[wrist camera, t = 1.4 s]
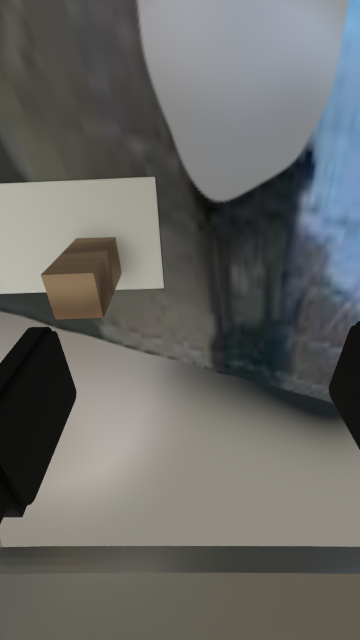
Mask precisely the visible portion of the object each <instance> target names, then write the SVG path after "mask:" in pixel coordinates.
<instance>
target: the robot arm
mask: <svg viewBox="0 0 360 640" xmlns="http://www.w3.org/2000/svg"><path fill="white" fill-rule="evenodd" d="M329 394H330V397H331V399H332V401H333V402H334V404H335V406H336V408H337V410H338V411H339V413H340V415H341V417H342V419H343V420H344V422H345V424H346V426H347V427H348V429H349V431H350V433H351V435H352V437H353V438H354V440H355V442H356V443H357V445H358V447H359V449H360V321H358V322H357V323H356V325H354V326H352V327H351V328H350V330H349V333H348V335H347V338H346V341H345V344H344V346H343V349H342V352H341V355H340V358H339V360H338V363H337V366H336V369H335V371H334V374H333V377H332V380H331V382H330V385H329ZM75 399H76V388H75V385H74V382H73V379H72V376H71V373H70V370H69V367H68V364H67V361H66V358H65V355H64V352H63V350H62V346H61V343H60V340H59V337H58V334H57V333H56V332H55V331H52V330H51V328H49V327H30V328H28V329H27V330H26V332H25V333H24V334H23V335H22V337H21V338H20V339H19V340H18V342H17V343H16V344H15V345H14V347H13V348H12V349H11V351H10V352H9V353H8V354H7V356H6V357H5V358H4V359H3V360H2V362H1V363H0V523H1V521H2V519H3V517H22V516H23V514H24V512H25V509H26V507H27V505H30V504H31V503H32V502H33V501H34V499H35V497H36V495H37V492H38V490H39V488H40V485H41V483H42V480H43V478H44V475H45V473H46V471H47V468H48V466H49V463H50V461H51V458H52V456H53V454H54V451H55V448H56V446H57V444H58V441H59V439H60V436H61V434H62V431H63V429H64V426H65V424H66V422H67V419H68V417H69V414H70V412H71V409H72V407H73V404H74V402H75ZM0 640H360V547H315V546H296V547H295V546H62V547H61V546H60V547H59V546H48V547H47V546H45V547H44V546H43V547H42V546H41V547H2V545H1V541H0Z"/></svg>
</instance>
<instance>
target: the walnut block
mask: <svg viewBox="0 0 360 640" xmlns="http://www.w3.org/2000/svg"><path fill="white" fill-rule="evenodd" d="M121 274H122V270H121V264H120V258H119V252H118V246H117V240H116V236H113V237H87V238H76V239H75V240H74V241H73V242H72V243H71V244H70V245H69V246H68V247H67V248H66V249H65V250H64V251H63V252H62V253H61V254H60V255H59V257H58V258H57V259H56V260H55V261H54V262H53V263H52V264H51V265H50V266H49V267H48V268H47V269H46V270H45V271H44V272H43V273H42V274H41V278H42V281H43V284H44V286H45V289H46V292H47V295H48V298H49V301H50V304H51V307H52V310H53V313H54V316H55V319H79V318H104V315H105V313H106V310H107V308H108V306H109V303H110V301H111V298H112V296H113V294H114V291H115V289H116V286H117V284H118V282H119V279H120V277H121Z"/></svg>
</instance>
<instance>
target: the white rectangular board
mask: <svg viewBox="0 0 360 640" xmlns="http://www.w3.org/2000/svg"><path fill="white" fill-rule="evenodd" d="M113 236H116V240H117V246H118V252H119V258H120V264H121V270H122V274H121V277H120V279H119V282H118V284H117V286H116V289H115V290H124V289H154V288H164V281H163V268H162V256H161V243H160V231H159V218H158V206H157V193H156V181H155V177H134V178H112V179H89V180H67V181H44V182H21V183H0V294H6V293H36V292H46V289H45V286H44V284H43V281H42V278H41V274H42V273H43V272H44V271H45V270H46V269H47V268H48V267H49V266H50V265H51V264H52V263H53V262H54V261H55V260H56V259H57V258H58V257H59V255H60V254H61V253H62V252H63V251H64V250H65V249H66V248H67V247H68V246H69V245H70V244H71V243H72V242H73V241H74V240H75V239H76V238H87V237H113Z"/></svg>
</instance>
